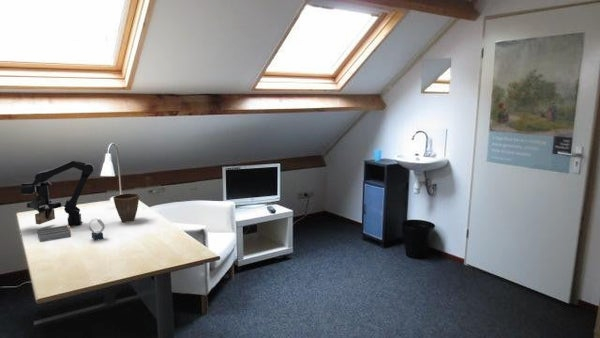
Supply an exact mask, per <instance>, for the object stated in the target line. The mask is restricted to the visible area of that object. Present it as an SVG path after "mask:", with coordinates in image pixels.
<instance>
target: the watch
mask: <svg viewBox="0 0 600 338" xmlns="http://www.w3.org/2000/svg"><path fill="white" fill-rule="evenodd" d="M94 221H97V223H98V224H99V225H100V226H101V228H100V230H98V231H94V230H93V228H92V226H91V224H92V223H93V222H94ZM87 225H88V229H89V230H90V232H91V239H92V238H93V239H92V240H94V241H98V239H99V240H103V239H104V233H103V231H104V229H105V228H106V225H105V223H104V222H103V221H102V219H101V218H92V219H91V220H90V221H89V222H88V224H87Z"/></svg>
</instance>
